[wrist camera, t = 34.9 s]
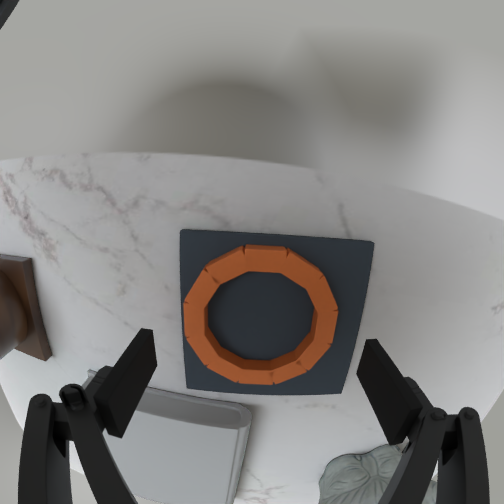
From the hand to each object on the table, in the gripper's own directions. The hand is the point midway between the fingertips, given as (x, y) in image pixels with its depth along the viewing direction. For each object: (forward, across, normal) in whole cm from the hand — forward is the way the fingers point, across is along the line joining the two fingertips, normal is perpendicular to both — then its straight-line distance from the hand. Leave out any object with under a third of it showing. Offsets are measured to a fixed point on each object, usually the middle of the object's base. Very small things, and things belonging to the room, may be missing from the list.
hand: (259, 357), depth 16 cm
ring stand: (+7, -30, -3) cm, 31 cm away
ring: (+6, 0, 0) cm, 6 cm away
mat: (+7, +1, -1) cm, 7 cm away
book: (+7, -10, -22) cm, 25 cm away
